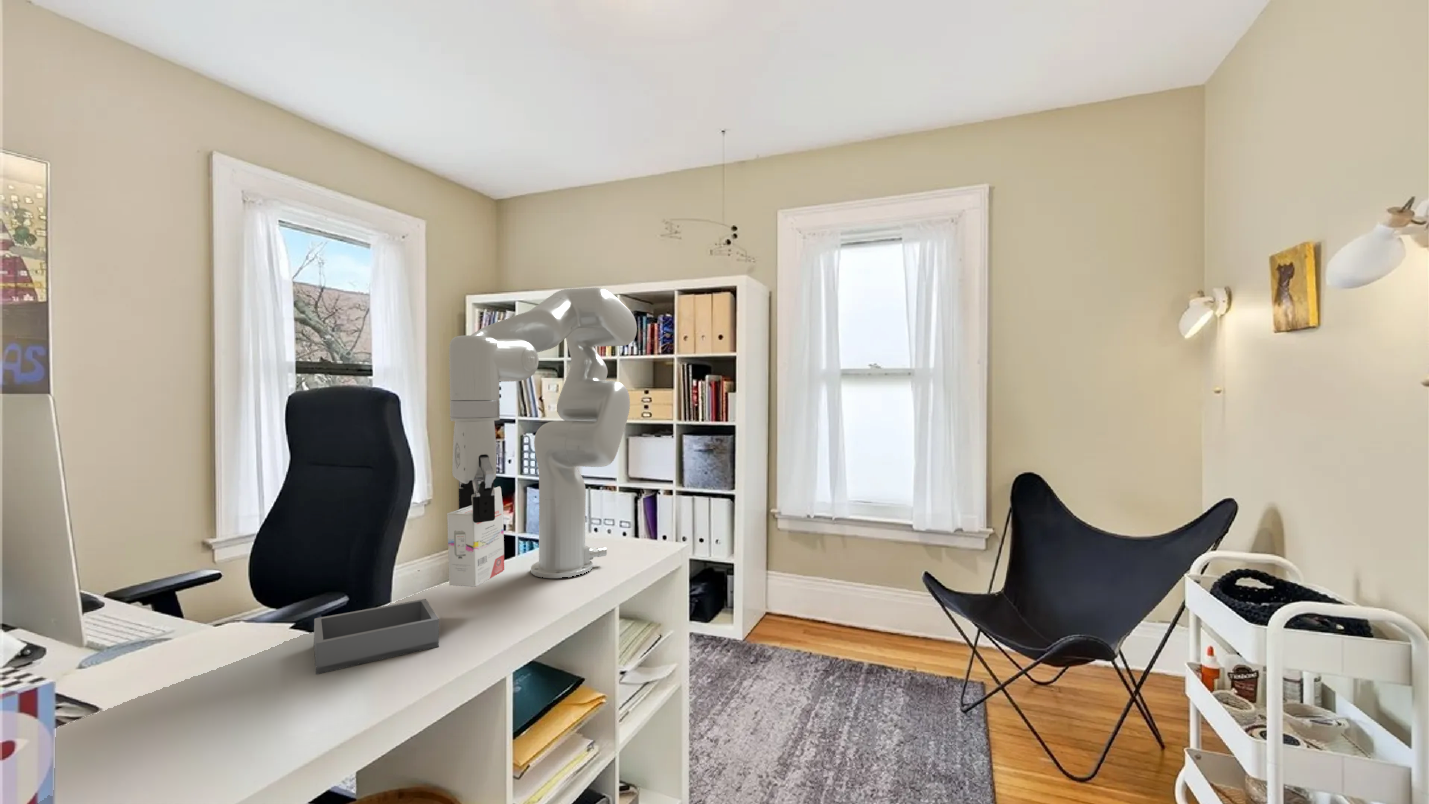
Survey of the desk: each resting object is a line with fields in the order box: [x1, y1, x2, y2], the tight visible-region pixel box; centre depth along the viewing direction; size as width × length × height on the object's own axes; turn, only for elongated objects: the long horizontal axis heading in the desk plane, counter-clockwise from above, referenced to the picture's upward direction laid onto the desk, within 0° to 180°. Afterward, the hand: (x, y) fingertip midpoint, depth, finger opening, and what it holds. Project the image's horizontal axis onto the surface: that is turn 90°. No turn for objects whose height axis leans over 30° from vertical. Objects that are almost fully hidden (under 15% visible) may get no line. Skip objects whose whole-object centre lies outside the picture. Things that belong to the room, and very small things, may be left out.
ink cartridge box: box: [446, 485, 505, 588], centre depth 94 cm, size 9×5×15 cm, turn 168°
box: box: [313, 598, 440, 675], centre depth 83 cm, size 15×11×4 cm
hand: (476, 515), depth 94 cm, fingers closed on ink cartridge box, 9 cm apart
